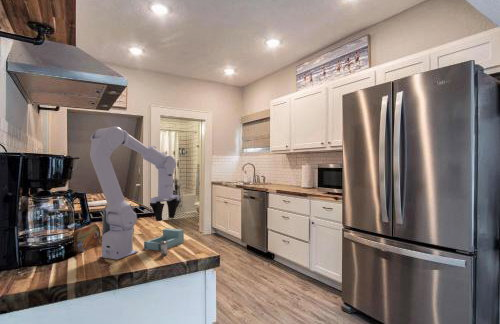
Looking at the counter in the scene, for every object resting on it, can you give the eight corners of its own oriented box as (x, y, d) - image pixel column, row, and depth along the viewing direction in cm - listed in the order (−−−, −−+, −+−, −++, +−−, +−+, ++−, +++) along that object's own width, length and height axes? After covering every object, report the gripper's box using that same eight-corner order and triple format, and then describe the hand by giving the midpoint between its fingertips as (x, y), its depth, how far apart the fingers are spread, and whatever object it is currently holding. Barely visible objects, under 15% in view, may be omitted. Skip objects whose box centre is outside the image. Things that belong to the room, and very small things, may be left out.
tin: (77, 255, 100) (77, 230, 100) (68, 255, 100) (68, 230, 100) (101, 243, 115) (101, 222, 115) (93, 243, 115) (93, 222, 115)
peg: (164, 256, 97) (164, 242, 97) (158, 255, 98) (158, 242, 98) (169, 254, 99) (169, 241, 99) (163, 253, 100) (163, 240, 100)
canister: (104, 233, 132) (105, 195, 133) (135, 231, 136) (135, 194, 137) (99, 240, 120) (99, 198, 120) (132, 237, 124) (132, 196, 124)
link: (161, 250, 104) (161, 237, 104) (144, 248, 107) (144, 235, 107) (183, 242, 116) (183, 229, 116) (167, 240, 119) (167, 228, 119)
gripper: (160, 186, 108) (160, 223, 107) (184, 184, 121) (184, 217, 121) (146, 186, 111) (146, 221, 110) (171, 184, 124) (171, 216, 124)
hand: (165, 219), depth 116 cm, fingers open, 7 cm apart
